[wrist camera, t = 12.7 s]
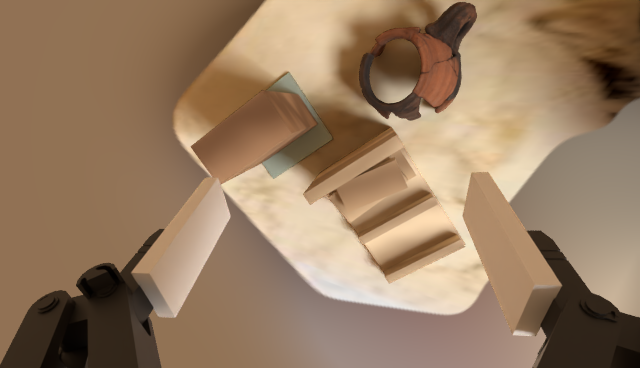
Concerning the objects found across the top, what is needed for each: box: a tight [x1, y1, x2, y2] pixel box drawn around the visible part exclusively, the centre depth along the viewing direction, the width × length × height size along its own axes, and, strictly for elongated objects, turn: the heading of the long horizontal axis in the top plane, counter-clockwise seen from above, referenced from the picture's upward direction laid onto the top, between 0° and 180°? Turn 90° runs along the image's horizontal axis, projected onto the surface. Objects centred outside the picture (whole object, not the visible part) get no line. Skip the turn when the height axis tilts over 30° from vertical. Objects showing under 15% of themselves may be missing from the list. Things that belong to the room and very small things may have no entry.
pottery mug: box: [359, 2, 477, 120], centre depth 30 cm, size 12×10×8 cm
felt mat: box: [263, 73, 333, 179], centre depth 37 cm, size 9×9×1 cm
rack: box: [303, 127, 465, 283], centre depth 33 cm, size 16×10×9 cm, turn 34°
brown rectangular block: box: [191, 90, 318, 185], centre depth 31 cm, size 4×8×12 cm, turn 124°
